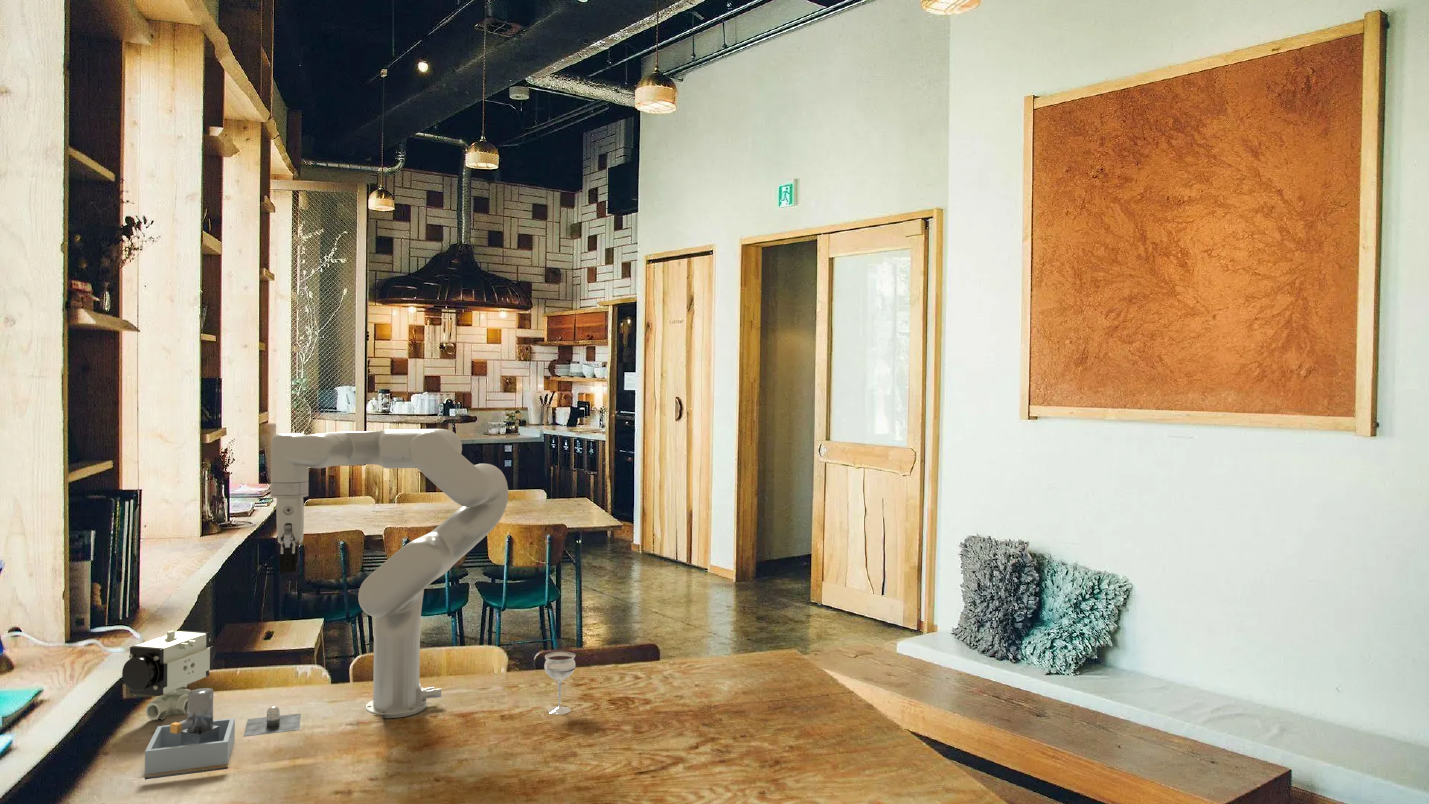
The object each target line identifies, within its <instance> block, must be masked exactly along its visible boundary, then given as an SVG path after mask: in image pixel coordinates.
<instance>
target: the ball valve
mask: <svg viewBox="0 0 1429 804" xmlns="http://www.w3.org/2000/svg"><path fill="white" fill-rule="evenodd" d="M215 656H216V646H215V643H214V642H213V640H212V639H211V638H210V632H207V631H196V630H195V631H193V630H183V629H182V630H178V631H175V630H169V631H166V634H165V635H164V636H160V637H157V638H154V639H151V640H148V641H145V642H142V643H139V644H136V645H132V646H130V647H129V655H128V658H129V659H128V660H127V661H126V662H125V663H124V665H123V667H122V674H121V676H122V680H123V682H124V684H125V686H126V687H127V688H128V689H129V694H134V695H148V696H157V697H156V698H155V697H154V699H152V700H151V701H150V702H148V704H147V705H146V707H145V710H144V712H145V715H146V717H147V718H148V719H149V720H152V721H159V720H158V719H161V720H160V721H162V720H165V718H166V717H168V716H170V715H176V716H177V715H187V714H188V692H190V691H192V690H191V689H188V688H187V687H188V685H191V684H192V683H195V682H197V681H200V680H202V679H204V678H207V677H210V670H212V669H214V658H215Z"/></svg>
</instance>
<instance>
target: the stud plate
mask: <svg viewBox="0 0 1429 804" xmlns="http://www.w3.org/2000/svg"><path fill="white" fill-rule="evenodd" d="M301 715H302V713H293V714H285V715H284V714H283V715H281V710H280V707H278V706H276V705H272V706H270V707H268V709H267V710H266V717H265V716H264V717H256V718H247V721H246V725H245V729H244V733H243V737H249V736H250V737H253V736H260V735H269V734H270V735H271V734H277V733H286V732H287V733H288V732H295V731H299V730H300V726H301V717H302V716H301Z"/></svg>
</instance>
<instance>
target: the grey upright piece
mask: <svg viewBox="0 0 1429 804" xmlns="http://www.w3.org/2000/svg"><path fill="white" fill-rule="evenodd" d="M213 720H214V689H213V688H210V687H209V688H208V687H205V688H204V687H201V688H196V689H192V690H191V691H190V692H188V713H187V717H186V719H183V720H181V721H179V722H177V721H174V722H172V723H170V724H169V725H170V733H175V734H178V733H180V732H181V746H183V745H191V744H200V743H208V742H217V741H219V726H214V725H213ZM186 728H187V729H186ZM184 729H186V730H184ZM182 730H183V731H182Z"/></svg>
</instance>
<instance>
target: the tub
mask: <svg viewBox="0 0 1429 804" xmlns="http://www.w3.org/2000/svg"><path fill="white" fill-rule="evenodd" d="M235 720H236V718H235V717H232V718H231V717H229V718H222V719H213V725H214V726H219V741H217V742H208V743H200V744H191V745H183V746H181V732H180V733H178V734H175V733H170V724H167V725H157V727H156V729H155V732H154V733H153V735H152V737H151V738H150V741H149V743H148V745H147V747H146V749H145V750H144V775H150V774H158V773H164V772H165V773H166V772H173V771H181V770H190V769H195V768H198V769H199V768H204V767H205V768H206V767H213V766H221V765H228V763H229V760H230V756H231V753H232V749H233V746H234V742H235V737H236V736H235V735H236V733H235V731H236V729H235V728H236V721H235ZM186 729H187V728H186ZM186 729H184V730H186ZM182 731H183V730H182ZM228 769H229V767H228V766H224V767H216V768H210V769H202V770H192V771H185V772H177V773H170V774H161V775H160V774H159V775H153V776H145V777H144V780H152V779H160V778H166V777H168V778H169V777H175V776H184V775H189V774H190V775H191V774H199V773H206V772H207V773H208V772H215V771H224V770H228Z"/></svg>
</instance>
